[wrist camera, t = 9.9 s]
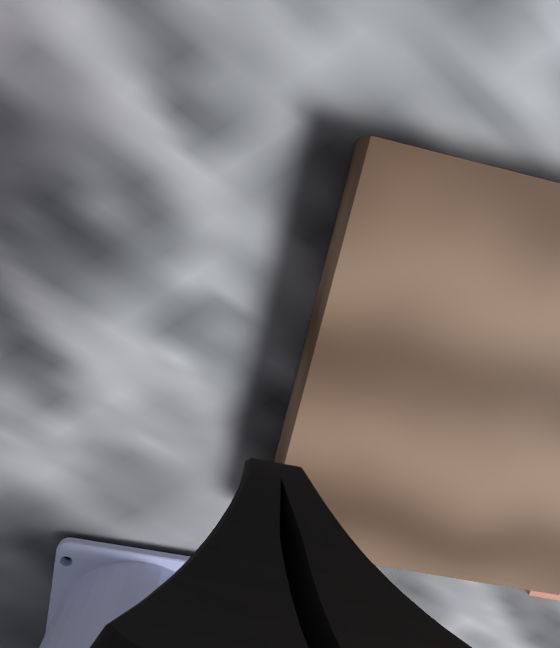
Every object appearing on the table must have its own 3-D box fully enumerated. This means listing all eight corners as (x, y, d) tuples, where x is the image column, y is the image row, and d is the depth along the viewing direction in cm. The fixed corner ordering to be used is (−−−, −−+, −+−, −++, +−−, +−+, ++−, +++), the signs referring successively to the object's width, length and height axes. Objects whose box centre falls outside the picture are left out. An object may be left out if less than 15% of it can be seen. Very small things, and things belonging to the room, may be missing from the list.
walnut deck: (529, 553, 25) (558, 595, 22) (262, 507, 23) (262, 546, 21) (676, 219, 20) (732, 226, 18) (356, 139, 19) (371, 135, 17)
